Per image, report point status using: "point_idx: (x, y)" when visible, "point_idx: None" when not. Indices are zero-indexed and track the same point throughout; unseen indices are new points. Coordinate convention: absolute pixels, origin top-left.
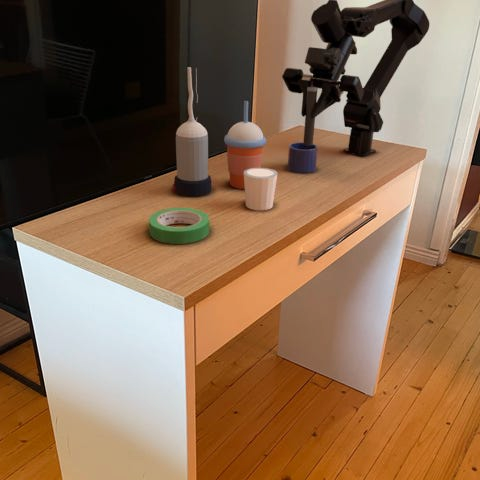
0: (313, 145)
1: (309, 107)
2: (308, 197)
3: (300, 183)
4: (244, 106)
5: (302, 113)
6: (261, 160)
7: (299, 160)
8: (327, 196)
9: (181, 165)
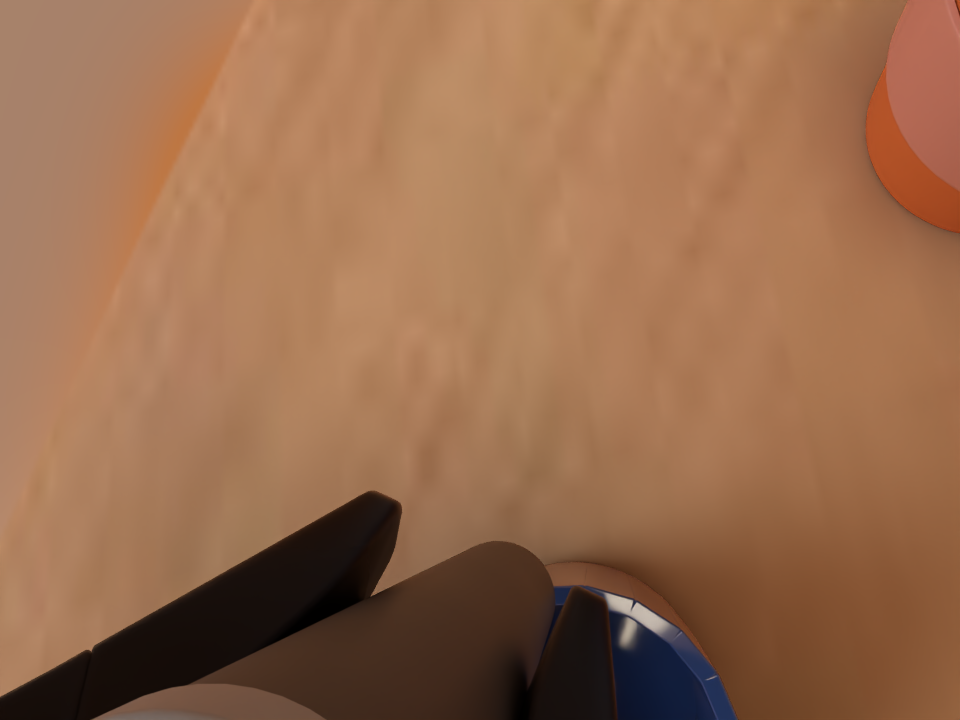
0: None
1: (417, 601)
2: (451, 33)
3: (540, 300)
4: None
5: (580, 589)
6: (916, 21)
7: (588, 572)
8: (329, 91)
9: None
